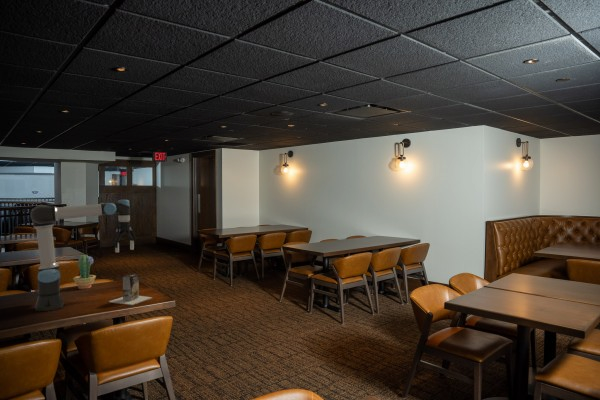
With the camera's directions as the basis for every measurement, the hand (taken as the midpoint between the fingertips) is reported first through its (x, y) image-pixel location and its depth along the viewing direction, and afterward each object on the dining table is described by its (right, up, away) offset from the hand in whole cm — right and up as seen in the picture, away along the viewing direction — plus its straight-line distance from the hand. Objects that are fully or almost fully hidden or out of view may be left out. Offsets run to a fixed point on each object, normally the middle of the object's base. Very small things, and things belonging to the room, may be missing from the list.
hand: (124, 251), depth 286 cm
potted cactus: (-40, -31, +21) cm, 55 cm away
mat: (+12, -31, -17) cm, 37 cm away
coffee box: (+12, -31, -17) cm, 37 cm away
